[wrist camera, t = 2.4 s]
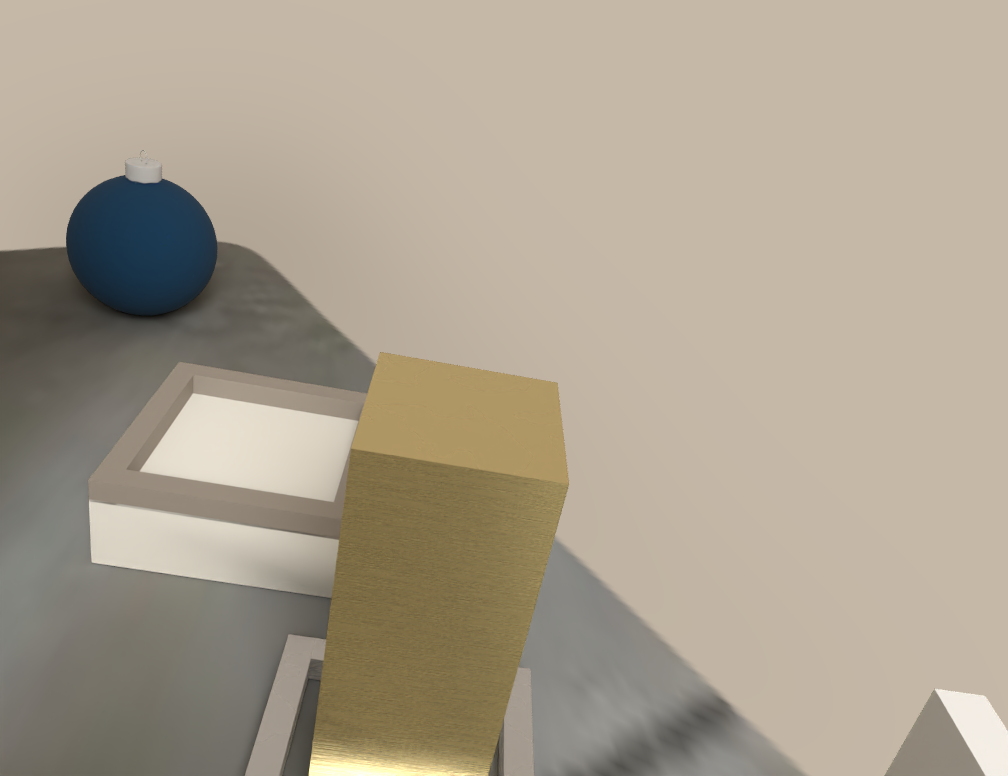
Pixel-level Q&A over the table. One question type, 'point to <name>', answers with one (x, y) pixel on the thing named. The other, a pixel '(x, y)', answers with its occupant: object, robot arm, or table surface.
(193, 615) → the table surface
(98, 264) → the christmas ornament
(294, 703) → the jamb socket
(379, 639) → the block
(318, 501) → the white square tray
